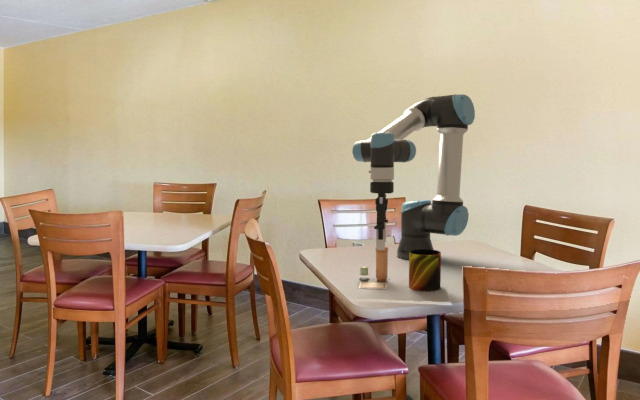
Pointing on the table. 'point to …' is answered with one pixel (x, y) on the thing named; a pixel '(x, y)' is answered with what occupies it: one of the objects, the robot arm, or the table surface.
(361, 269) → the button
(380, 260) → the orange tall block
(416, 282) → the mug
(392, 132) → the robot arm
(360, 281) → the clipboard
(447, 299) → the table surface
